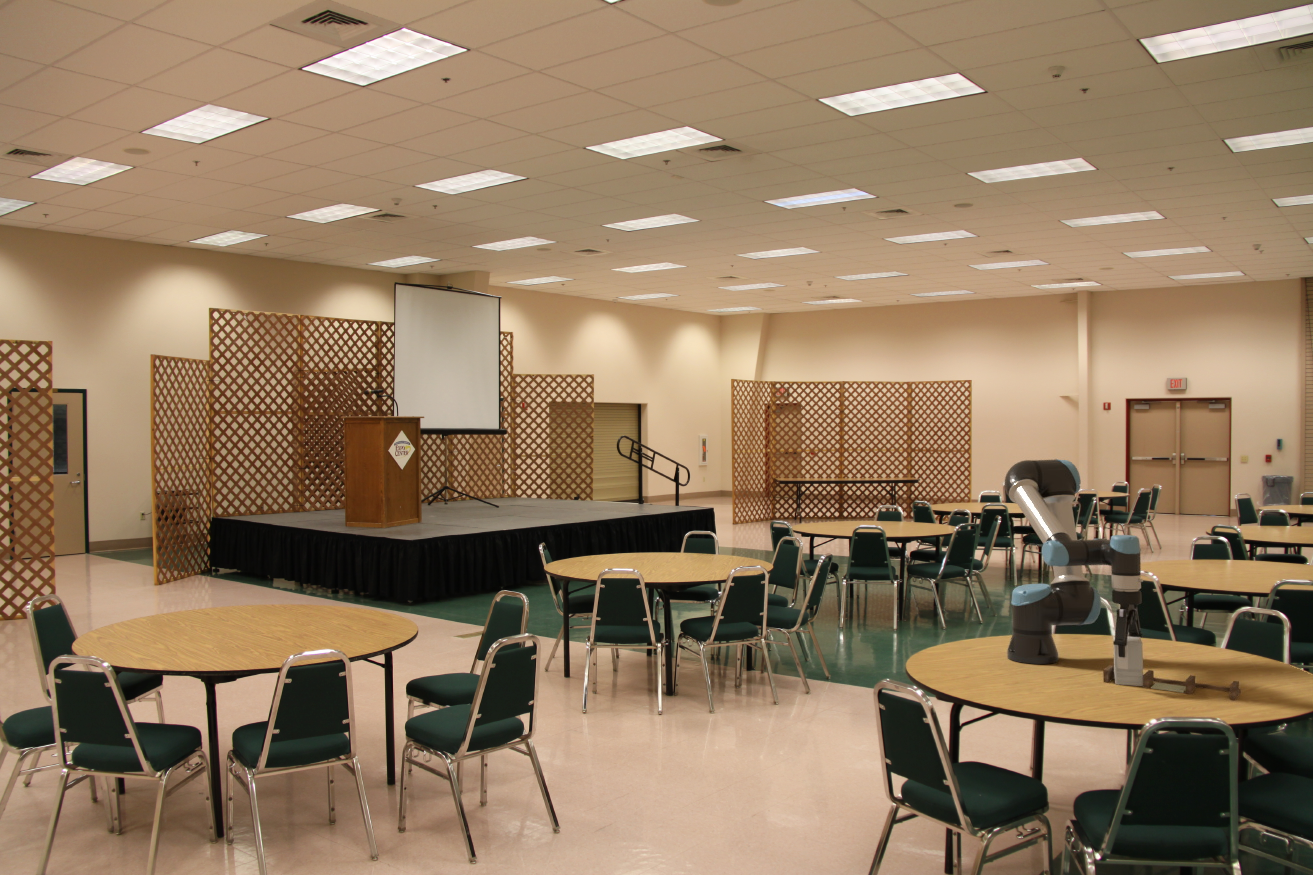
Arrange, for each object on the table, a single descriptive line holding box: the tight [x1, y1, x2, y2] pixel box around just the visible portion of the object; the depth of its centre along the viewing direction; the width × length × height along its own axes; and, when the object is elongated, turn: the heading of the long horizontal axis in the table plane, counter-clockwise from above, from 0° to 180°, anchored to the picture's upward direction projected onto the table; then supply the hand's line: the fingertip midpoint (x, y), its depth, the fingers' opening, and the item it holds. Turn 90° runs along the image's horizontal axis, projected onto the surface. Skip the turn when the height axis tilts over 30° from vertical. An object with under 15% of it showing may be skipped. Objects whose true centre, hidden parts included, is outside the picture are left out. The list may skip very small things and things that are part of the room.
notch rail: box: [1102, 664, 1242, 701], centre depth 260 cm, size 32×10×4 cm, turn 51°
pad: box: [1150, 682, 1186, 694], centre depth 259 cm, size 8×6×1 cm
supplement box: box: [1112, 635, 1144, 687], centre depth 266 cm, size 7×7×13 cm
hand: (1128, 664), depth 266 cm, fingers open, 13 cm apart
